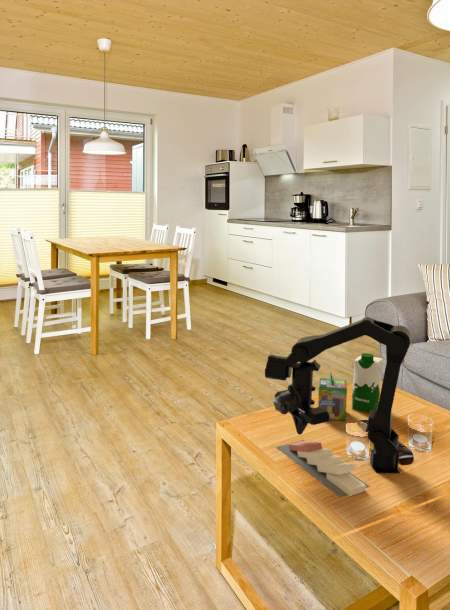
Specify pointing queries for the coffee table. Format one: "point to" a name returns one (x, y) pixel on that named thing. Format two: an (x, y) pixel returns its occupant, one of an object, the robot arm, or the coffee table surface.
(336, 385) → the juice carton
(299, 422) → the robot arm
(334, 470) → the domino
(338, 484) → the domino
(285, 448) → the mat
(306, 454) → the domino
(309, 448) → the domino
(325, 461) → the domino
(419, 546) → the coffee table surface
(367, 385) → the milk carton
